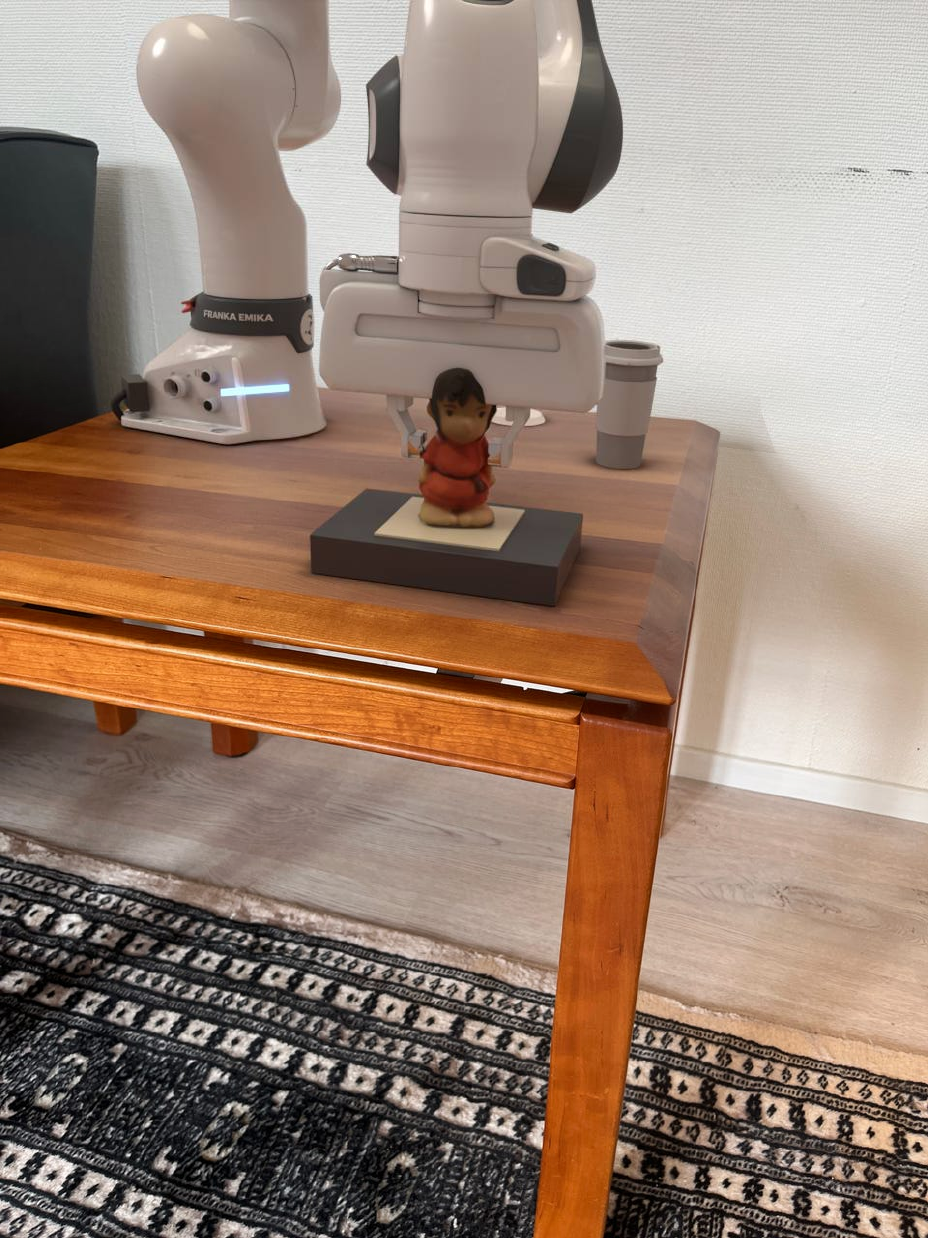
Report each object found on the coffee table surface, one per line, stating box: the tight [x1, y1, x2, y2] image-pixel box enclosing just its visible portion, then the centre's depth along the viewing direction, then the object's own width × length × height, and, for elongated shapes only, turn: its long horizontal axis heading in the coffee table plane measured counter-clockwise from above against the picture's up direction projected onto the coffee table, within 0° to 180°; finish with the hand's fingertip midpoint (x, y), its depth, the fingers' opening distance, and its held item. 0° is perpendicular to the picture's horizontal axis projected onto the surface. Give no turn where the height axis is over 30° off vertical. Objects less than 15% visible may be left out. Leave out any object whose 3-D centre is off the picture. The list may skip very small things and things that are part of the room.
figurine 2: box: [491, 406, 546, 427], centre depth 116 cm, size 7×7×12 cm
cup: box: [595, 339, 664, 470], centre depth 100 cm, size 7×7×12 cm
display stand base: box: [309, 488, 584, 607], centre depth 74 cm, size 18×12×3 cm, turn 75°
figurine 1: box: [417, 368, 498, 527], centre depth 71 cm, size 6×6×12 cm
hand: (457, 461), depth 72 cm, fingers closed on figurine 1, 5 cm apart
